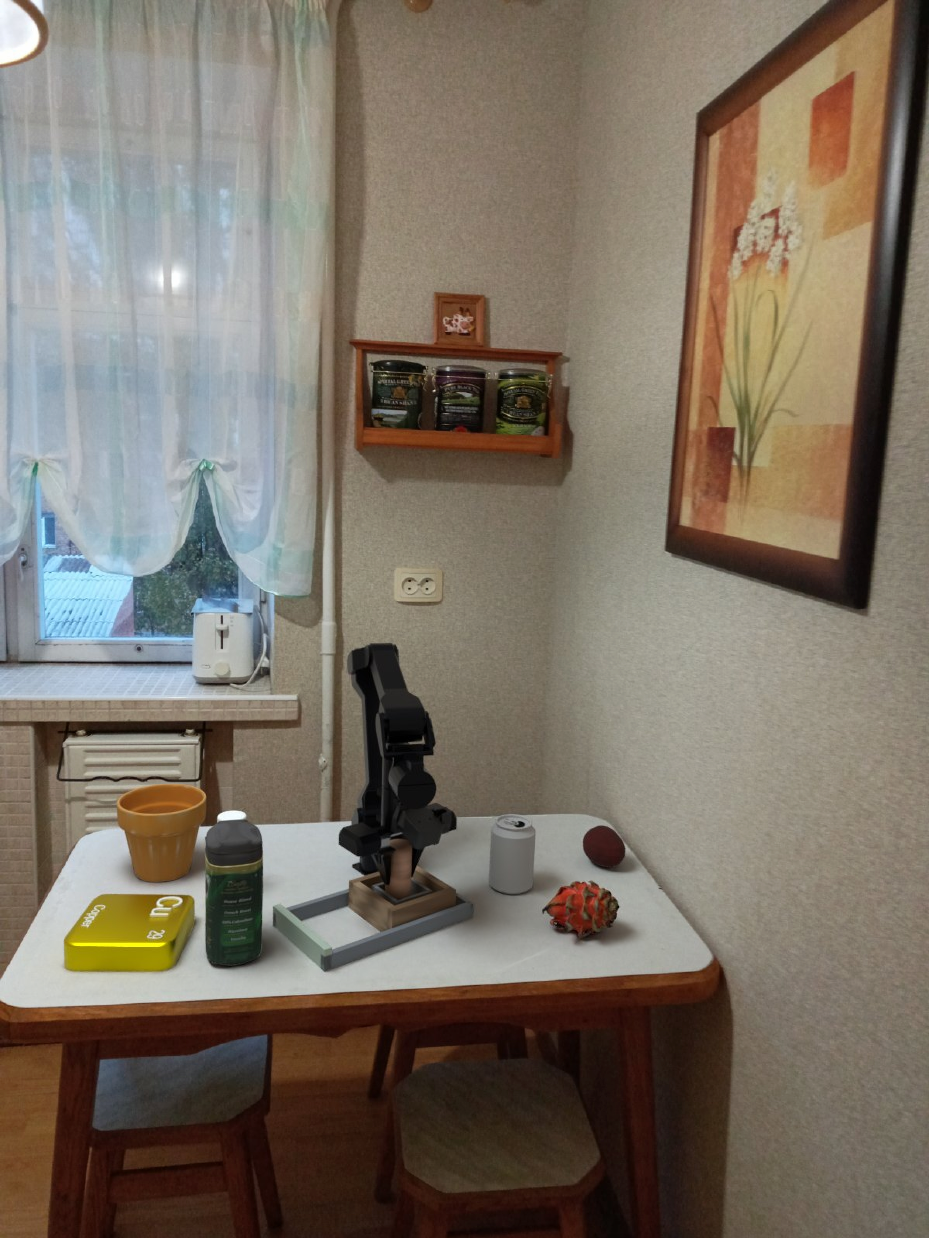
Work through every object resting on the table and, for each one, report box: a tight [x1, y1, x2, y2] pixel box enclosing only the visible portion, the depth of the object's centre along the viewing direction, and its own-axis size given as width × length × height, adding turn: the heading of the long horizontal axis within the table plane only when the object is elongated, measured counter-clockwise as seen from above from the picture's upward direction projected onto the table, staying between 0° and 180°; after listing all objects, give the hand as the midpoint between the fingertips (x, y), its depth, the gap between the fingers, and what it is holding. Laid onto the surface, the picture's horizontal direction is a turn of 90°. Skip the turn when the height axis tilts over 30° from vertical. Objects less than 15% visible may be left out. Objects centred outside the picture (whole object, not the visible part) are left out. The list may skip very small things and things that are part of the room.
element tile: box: [63, 893, 196, 973], centre depth 128 cm, size 15×15×5 cm
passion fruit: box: [582, 824, 626, 868], centre depth 160 cm, size 7×8×7 cm
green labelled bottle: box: [204, 819, 264, 967], centre depth 126 cm, size 10×8×19 cm
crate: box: [347, 865, 457, 932], centre depth 139 cm, size 12×12×4 cm
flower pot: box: [116, 783, 207, 883], centre depth 150 cm, size 14×14×13 cm
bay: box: [272, 888, 475, 972], centre depth 136 cm, size 15×27×4 cm, turn 129°
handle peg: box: [385, 839, 412, 900], centre depth 138 cm, size 4×4×10 cm
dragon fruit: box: [541, 880, 621, 939], centre depth 136 cm, size 8×8×12 cm
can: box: [488, 813, 537, 895], centre depth 149 cm, size 8×8×12 cm
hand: (398, 880), depth 138 cm, fingers closed on handle peg, 4 cm apart
